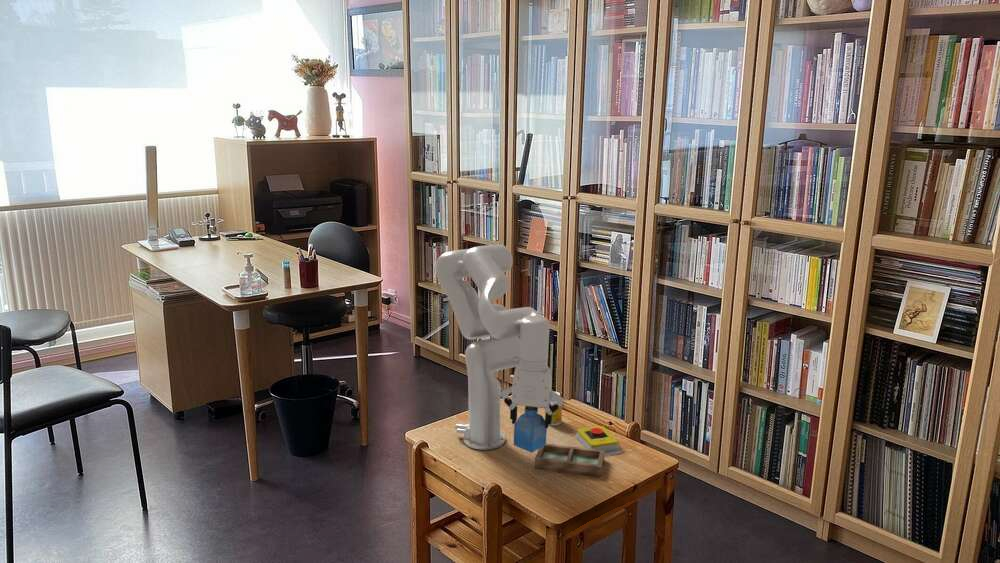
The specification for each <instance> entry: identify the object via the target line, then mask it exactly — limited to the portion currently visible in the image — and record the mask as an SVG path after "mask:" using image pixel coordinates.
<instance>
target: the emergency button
mask: <svg viewBox="0 0 1000 563" xmlns="http://www.w3.org/2000/svg"><path fill="white" fill-rule="evenodd" d="M576 430H577V431H576V434H574V437H575V438H576V440H577V441H578V442H579V443H580V444H581V445H582V446H583V448H589V449H597V450H605V454H604V457H607V456H613V455H614V456H615V455H621V454H623V451H622V450H621V448H620V447H619V446H620V445H619V444H620V443H619V439H618V438H617V437H616V436H614V434H612V433H611V432H610V431H609V430H608V429H607V428H606V427H605V426H603V425H598V426H597V425H596V426H590V427H582V428H578V429H576Z"/></svg>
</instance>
